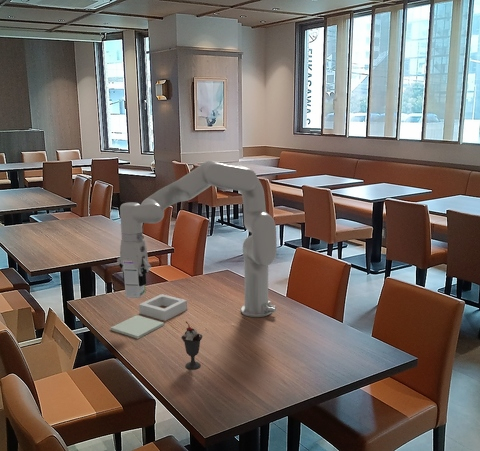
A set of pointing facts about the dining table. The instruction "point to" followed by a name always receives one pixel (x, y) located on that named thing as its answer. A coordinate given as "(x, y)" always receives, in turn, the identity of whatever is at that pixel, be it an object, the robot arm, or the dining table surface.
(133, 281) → the syrup box
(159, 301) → the holder
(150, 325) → the mat
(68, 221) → the dining table surface
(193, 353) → the sundae
